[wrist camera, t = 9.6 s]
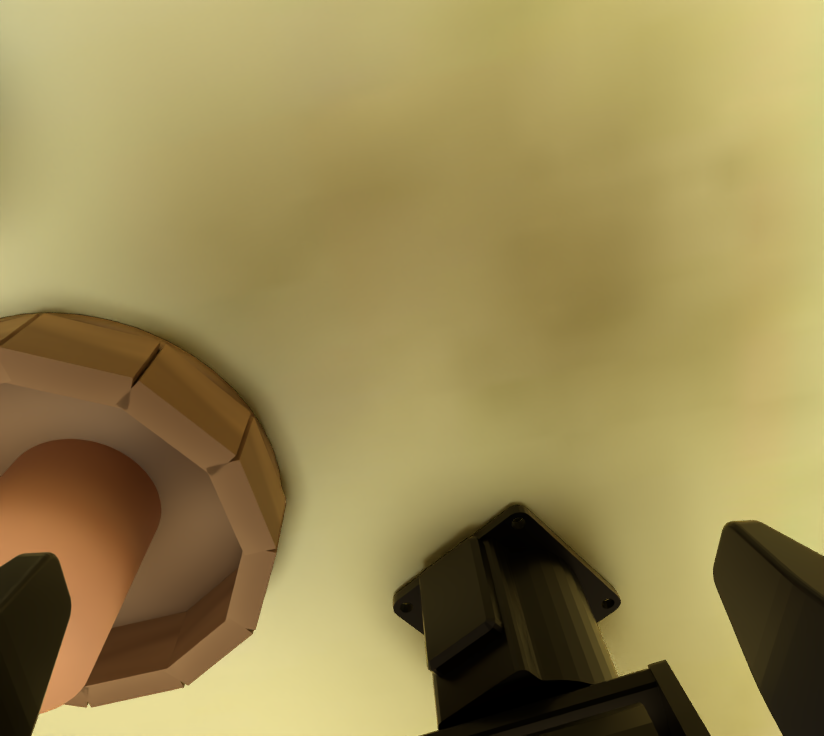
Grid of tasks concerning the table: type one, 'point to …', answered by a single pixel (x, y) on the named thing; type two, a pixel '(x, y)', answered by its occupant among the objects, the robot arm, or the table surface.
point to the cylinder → (80, 539)
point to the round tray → (173, 478)
